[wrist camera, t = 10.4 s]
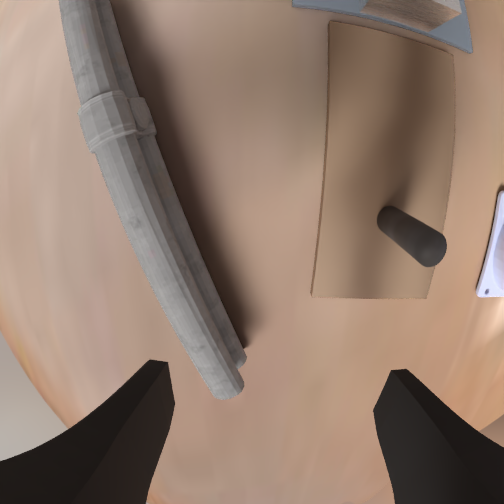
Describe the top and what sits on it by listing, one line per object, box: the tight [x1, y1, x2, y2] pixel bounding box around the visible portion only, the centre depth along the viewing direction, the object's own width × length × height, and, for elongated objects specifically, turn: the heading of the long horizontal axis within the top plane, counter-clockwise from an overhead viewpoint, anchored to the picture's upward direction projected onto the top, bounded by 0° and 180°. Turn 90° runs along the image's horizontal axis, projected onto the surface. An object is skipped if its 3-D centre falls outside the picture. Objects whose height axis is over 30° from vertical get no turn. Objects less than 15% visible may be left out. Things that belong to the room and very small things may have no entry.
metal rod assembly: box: [59, 0, 247, 400], centre depth 14 cm, size 26×3×5 cm, turn 19°
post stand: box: [310, 21, 455, 299], centre depth 12 cm, size 8×16×6 cm, turn 178°
